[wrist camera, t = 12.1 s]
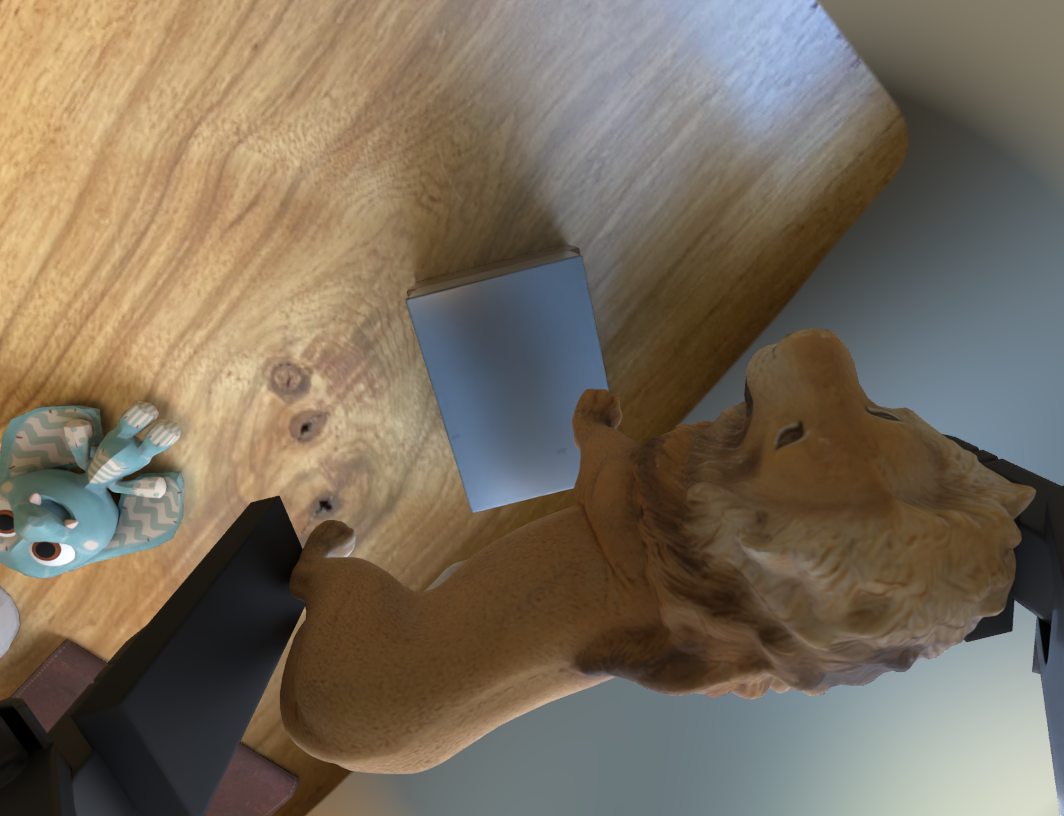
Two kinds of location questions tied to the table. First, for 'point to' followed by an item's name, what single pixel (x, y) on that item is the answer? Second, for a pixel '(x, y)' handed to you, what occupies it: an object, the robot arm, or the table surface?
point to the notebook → (247, 781)
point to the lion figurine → (669, 572)
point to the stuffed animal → (83, 488)
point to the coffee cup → (7, 621)
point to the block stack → (510, 370)
